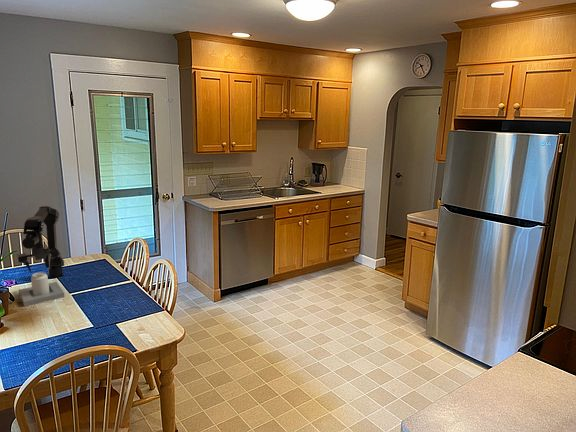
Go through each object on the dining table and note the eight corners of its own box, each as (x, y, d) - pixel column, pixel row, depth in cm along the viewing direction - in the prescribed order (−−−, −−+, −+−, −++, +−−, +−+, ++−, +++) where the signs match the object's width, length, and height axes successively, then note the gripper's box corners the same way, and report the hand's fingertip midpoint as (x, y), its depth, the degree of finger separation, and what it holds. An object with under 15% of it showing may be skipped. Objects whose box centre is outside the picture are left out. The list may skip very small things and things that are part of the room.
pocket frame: (56, 285, 231) (56, 281, 230) (64, 297, 217) (64, 292, 217) (19, 294, 219) (18, 289, 219) (24, 306, 206) (24, 301, 205)
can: (36, 299, 213) (34, 277, 210) (30, 295, 218) (28, 274, 215) (52, 294, 219) (49, 273, 216) (46, 291, 223) (43, 270, 220)
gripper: (18, 250, 204) (22, 279, 208) (59, 242, 216) (63, 270, 220) (14, 244, 212) (18, 272, 216) (55, 237, 224) (58, 264, 228)
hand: (40, 269), depth 220 cm, fingers open, 9 cm apart
